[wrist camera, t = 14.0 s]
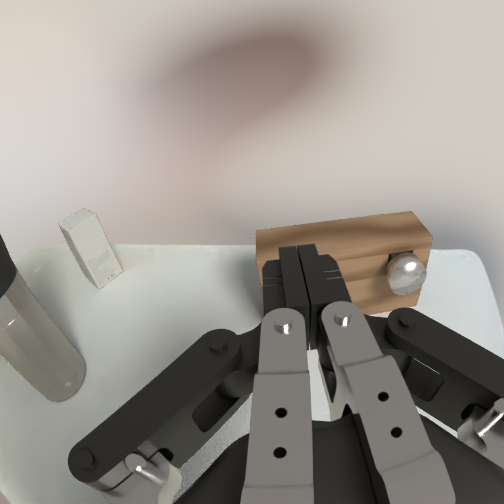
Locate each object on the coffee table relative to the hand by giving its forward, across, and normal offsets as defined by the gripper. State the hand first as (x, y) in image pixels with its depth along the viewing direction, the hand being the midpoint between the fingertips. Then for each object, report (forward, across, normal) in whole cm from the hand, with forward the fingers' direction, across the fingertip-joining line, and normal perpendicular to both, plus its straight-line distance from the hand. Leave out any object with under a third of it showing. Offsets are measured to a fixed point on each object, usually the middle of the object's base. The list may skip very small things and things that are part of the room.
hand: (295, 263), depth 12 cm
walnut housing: (+18, -8, +21) cm, 29 cm away
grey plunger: (+18, -14, +14) cm, 27 cm away
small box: (+33, +34, +22) cm, 52 cm away
